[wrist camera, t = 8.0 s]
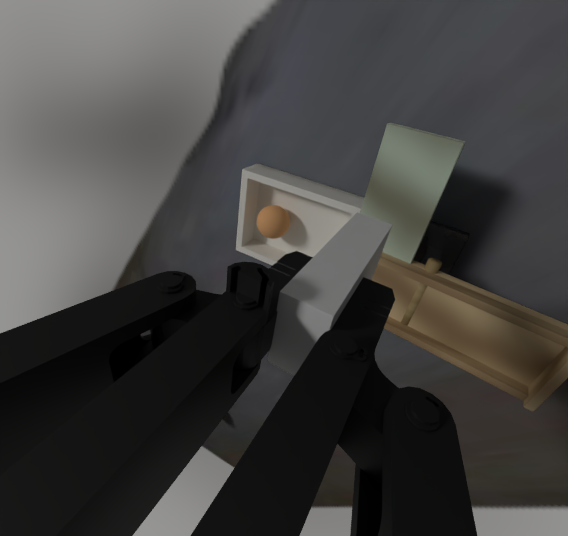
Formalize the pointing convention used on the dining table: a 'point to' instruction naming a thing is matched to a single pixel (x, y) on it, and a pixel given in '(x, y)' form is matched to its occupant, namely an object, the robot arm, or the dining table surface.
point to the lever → (453, 279)
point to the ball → (273, 221)
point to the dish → (290, 213)
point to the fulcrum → (441, 245)
